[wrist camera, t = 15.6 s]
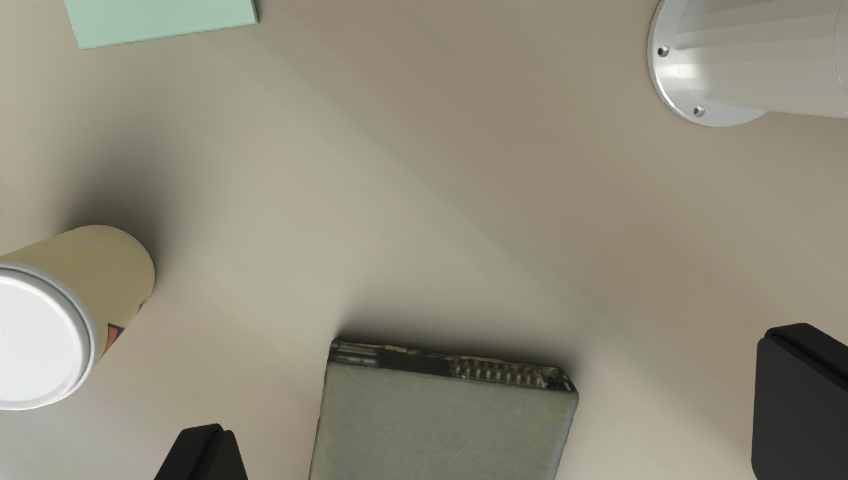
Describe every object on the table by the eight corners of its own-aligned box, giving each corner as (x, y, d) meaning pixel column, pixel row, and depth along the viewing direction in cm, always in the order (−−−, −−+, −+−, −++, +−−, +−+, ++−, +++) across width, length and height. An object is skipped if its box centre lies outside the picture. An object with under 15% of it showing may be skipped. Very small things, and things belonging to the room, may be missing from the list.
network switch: (569, 338, 47) (591, 367, 43) (534, 545, 54) (549, 591, 49) (302, 329, 45) (293, 360, 40) (301, 547, 52) (292, 595, 47)
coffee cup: (90, 343, 44) (-14, 438, 32) (15, 245, 41) (-128, 312, 29) (190, 294, 43) (121, 375, 32) (121, 192, 40) (17, 240, 29)
